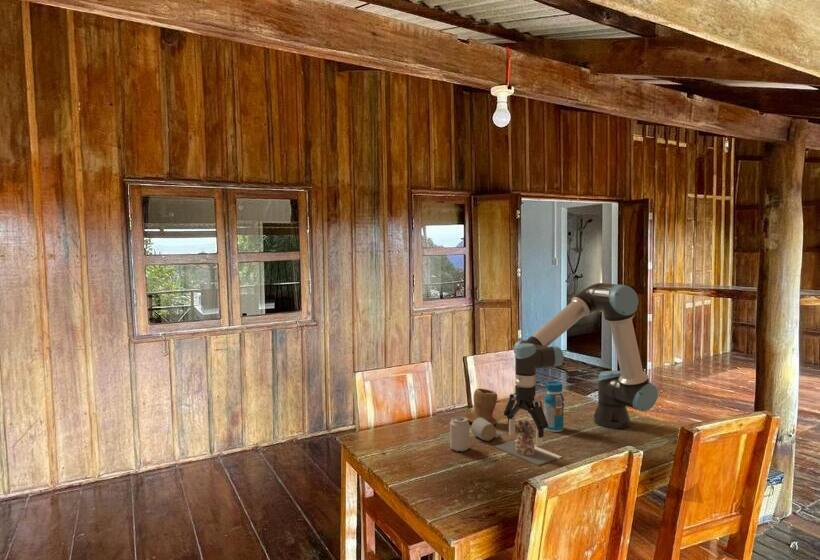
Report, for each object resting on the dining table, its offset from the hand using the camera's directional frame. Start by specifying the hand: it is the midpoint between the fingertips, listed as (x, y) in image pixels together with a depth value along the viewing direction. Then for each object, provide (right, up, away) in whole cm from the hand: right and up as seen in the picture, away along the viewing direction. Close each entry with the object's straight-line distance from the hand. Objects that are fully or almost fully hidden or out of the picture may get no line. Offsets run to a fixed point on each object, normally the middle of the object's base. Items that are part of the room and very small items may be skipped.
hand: (525, 440), depth 203 cm
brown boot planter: (-12, -3, +36) cm, 38 cm away
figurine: (0, -5, 0) cm, 5 cm away
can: (-24, -5, +5) cm, 25 cm away
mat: (0, -5, 0) cm, 5 cm away
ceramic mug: (-12, -4, +17) cm, 21 cm away
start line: (+6, -5, +4) cm, 8 cm away
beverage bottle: (+18, -3, +27) cm, 32 cm away
